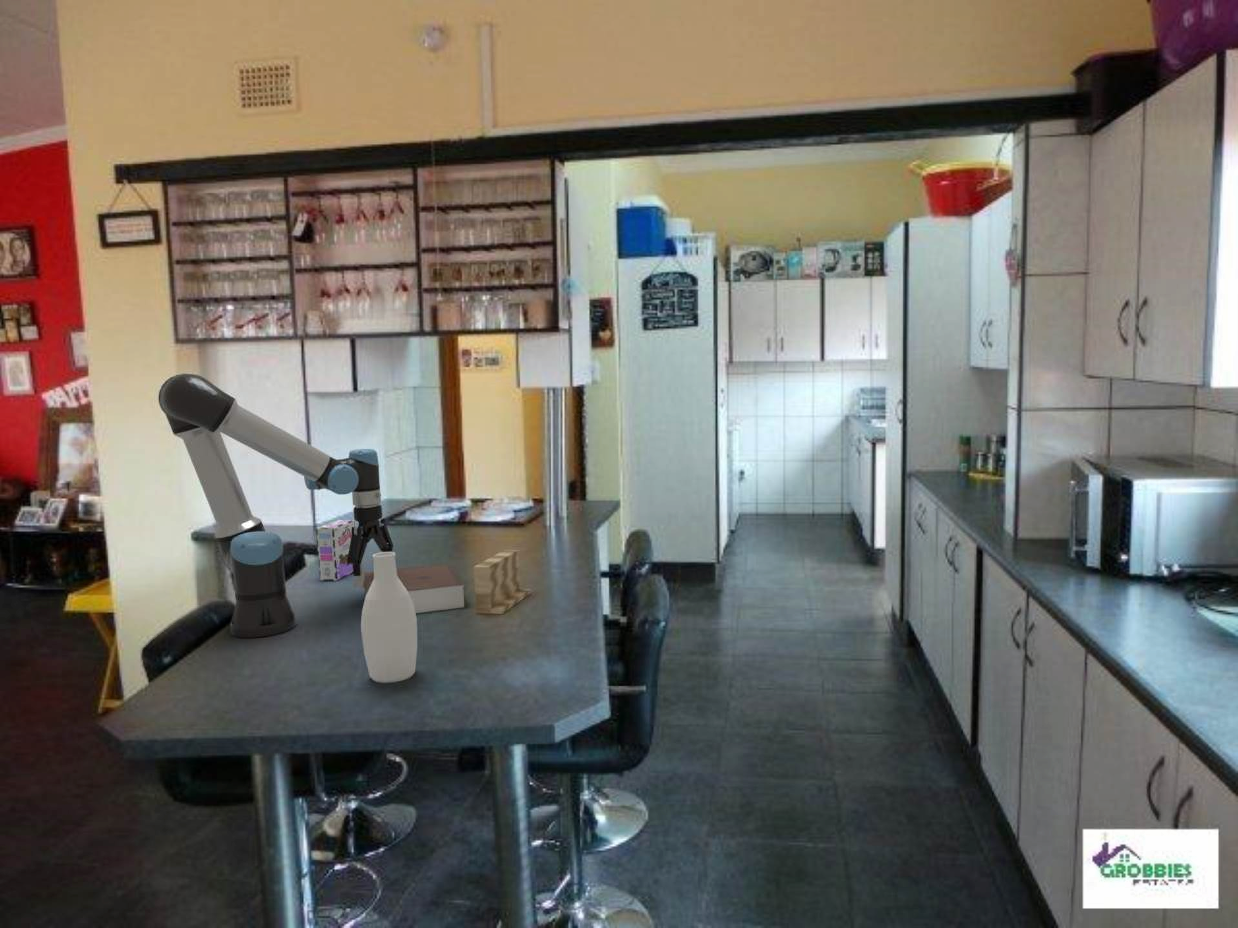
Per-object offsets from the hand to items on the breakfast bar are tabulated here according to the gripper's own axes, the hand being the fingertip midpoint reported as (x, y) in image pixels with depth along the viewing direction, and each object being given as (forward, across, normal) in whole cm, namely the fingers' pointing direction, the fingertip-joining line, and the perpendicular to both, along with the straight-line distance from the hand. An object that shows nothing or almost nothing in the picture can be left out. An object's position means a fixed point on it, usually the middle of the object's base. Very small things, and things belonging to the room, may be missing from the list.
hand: (373, 580), depth 248 cm
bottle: (+4, -58, -38) cm, 69 cm away
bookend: (+4, -3, -40) cm, 40 cm away
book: (+5, -2, -14) cm, 15 cm away
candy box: (+5, +21, +24) cm, 33 cm away
